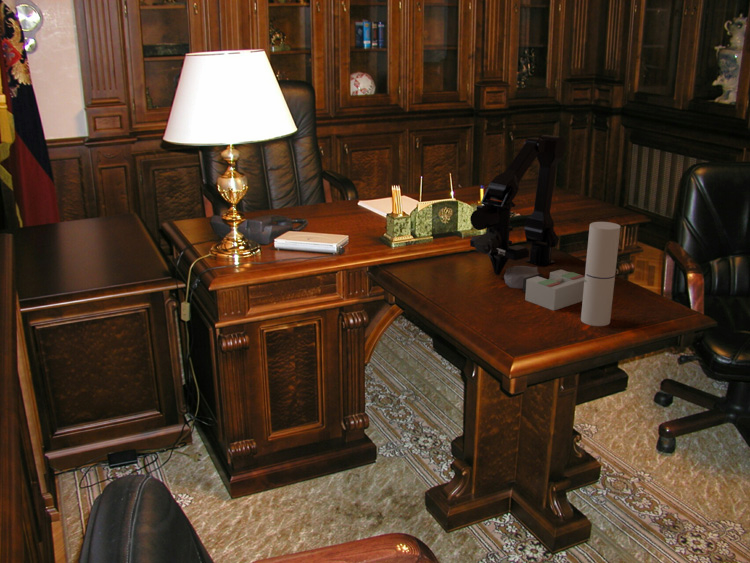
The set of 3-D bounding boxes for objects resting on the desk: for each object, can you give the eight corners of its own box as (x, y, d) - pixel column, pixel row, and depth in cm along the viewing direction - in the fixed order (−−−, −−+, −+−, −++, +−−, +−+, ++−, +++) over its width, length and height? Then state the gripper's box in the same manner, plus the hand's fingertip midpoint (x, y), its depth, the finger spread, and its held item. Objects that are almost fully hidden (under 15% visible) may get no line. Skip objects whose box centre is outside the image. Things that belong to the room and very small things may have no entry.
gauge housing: (558, 289, 209) (560, 268, 207) (587, 299, 201) (589, 277, 199) (525, 300, 201) (526, 278, 199) (553, 310, 193) (555, 288, 191)
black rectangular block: (539, 286, 210) (540, 269, 208) (564, 295, 203) (565, 277, 201) (522, 291, 206) (523, 274, 204) (547, 300, 199) (548, 282, 197)
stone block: (506, 294, 211) (542, 289, 209) (504, 278, 210) (539, 273, 208) (504, 282, 222) (538, 277, 220) (502, 267, 221) (535, 261, 219)
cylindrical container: (593, 328, 182) (603, 230, 174) (575, 318, 188) (583, 223, 180) (616, 323, 185) (626, 227, 177) (597, 313, 191) (606, 220, 183)
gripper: (457, 221, 215) (455, 272, 220) (504, 235, 201) (501, 288, 206) (484, 215, 221) (482, 265, 226) (531, 228, 207) (528, 280, 212)
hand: (497, 274), depth 218 cm, fingers closed
